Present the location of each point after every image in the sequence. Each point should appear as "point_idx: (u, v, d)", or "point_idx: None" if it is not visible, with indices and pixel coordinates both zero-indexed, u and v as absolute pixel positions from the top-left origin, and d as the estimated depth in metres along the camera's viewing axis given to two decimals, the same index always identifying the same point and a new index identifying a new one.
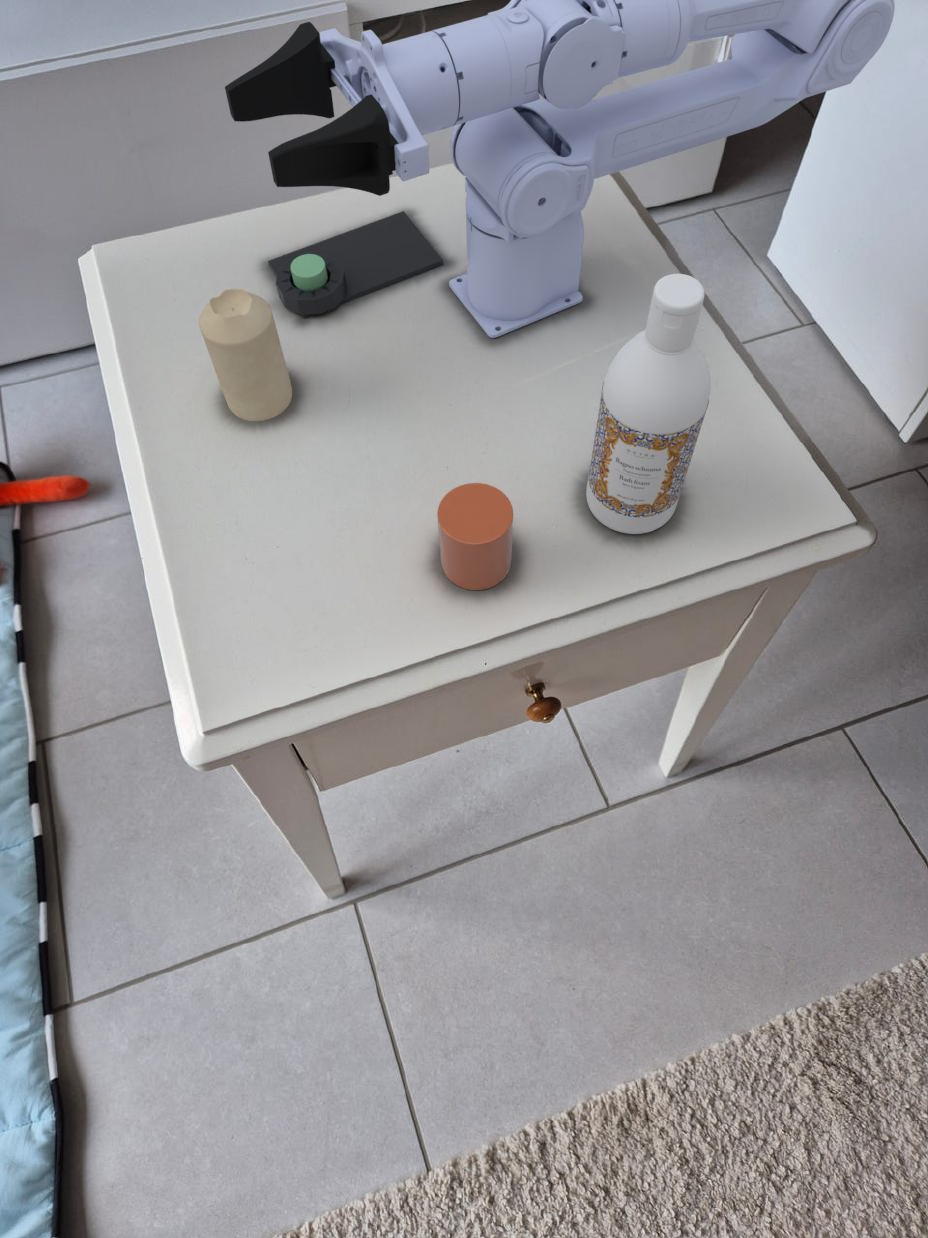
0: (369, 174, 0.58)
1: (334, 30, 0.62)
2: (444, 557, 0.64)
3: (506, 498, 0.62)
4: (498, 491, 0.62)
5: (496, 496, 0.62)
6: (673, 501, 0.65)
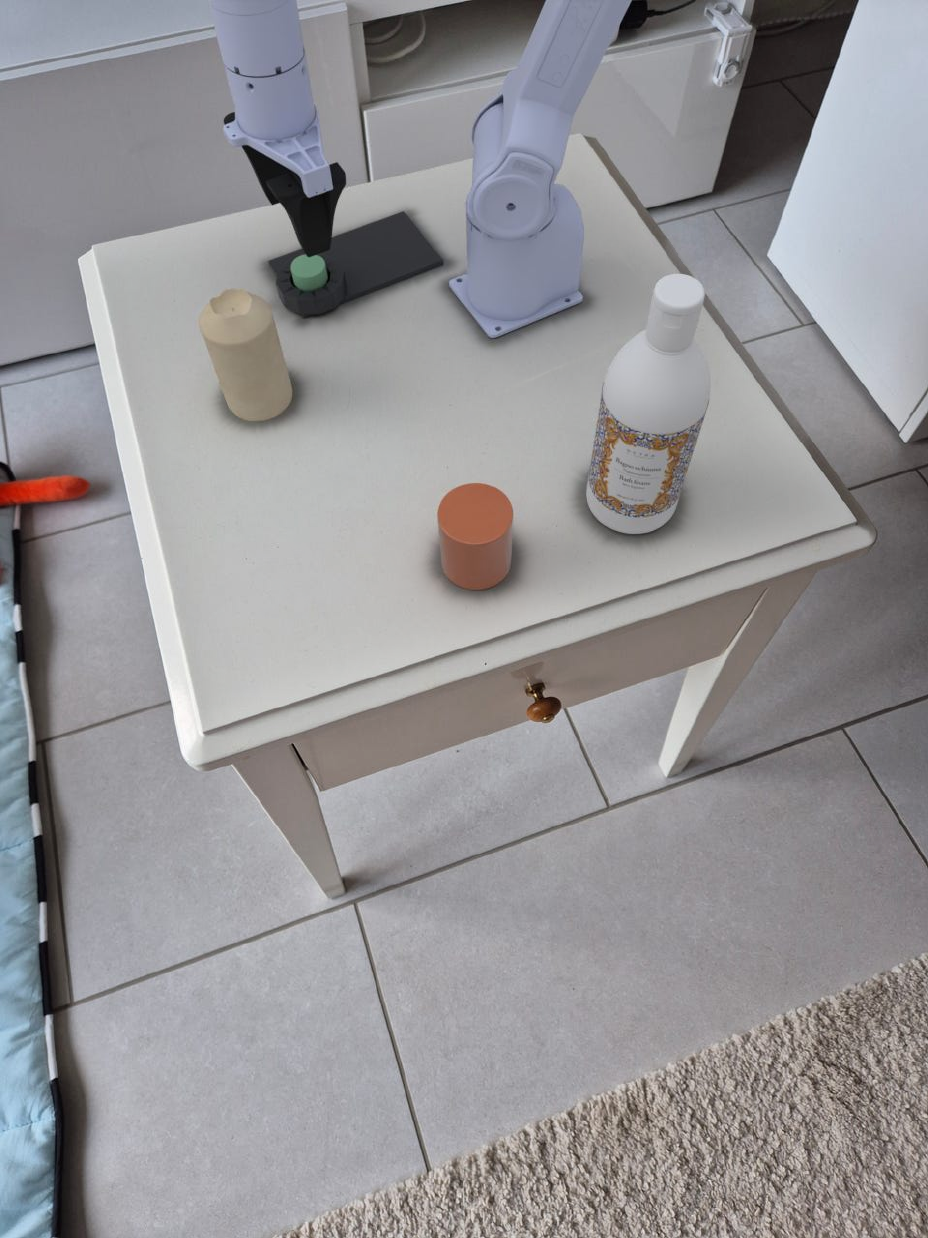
0: (327, 191, 0.67)
1: None
2: (444, 557, 0.64)
3: (506, 498, 0.62)
4: (498, 491, 0.62)
5: (496, 496, 0.62)
6: (673, 501, 0.65)
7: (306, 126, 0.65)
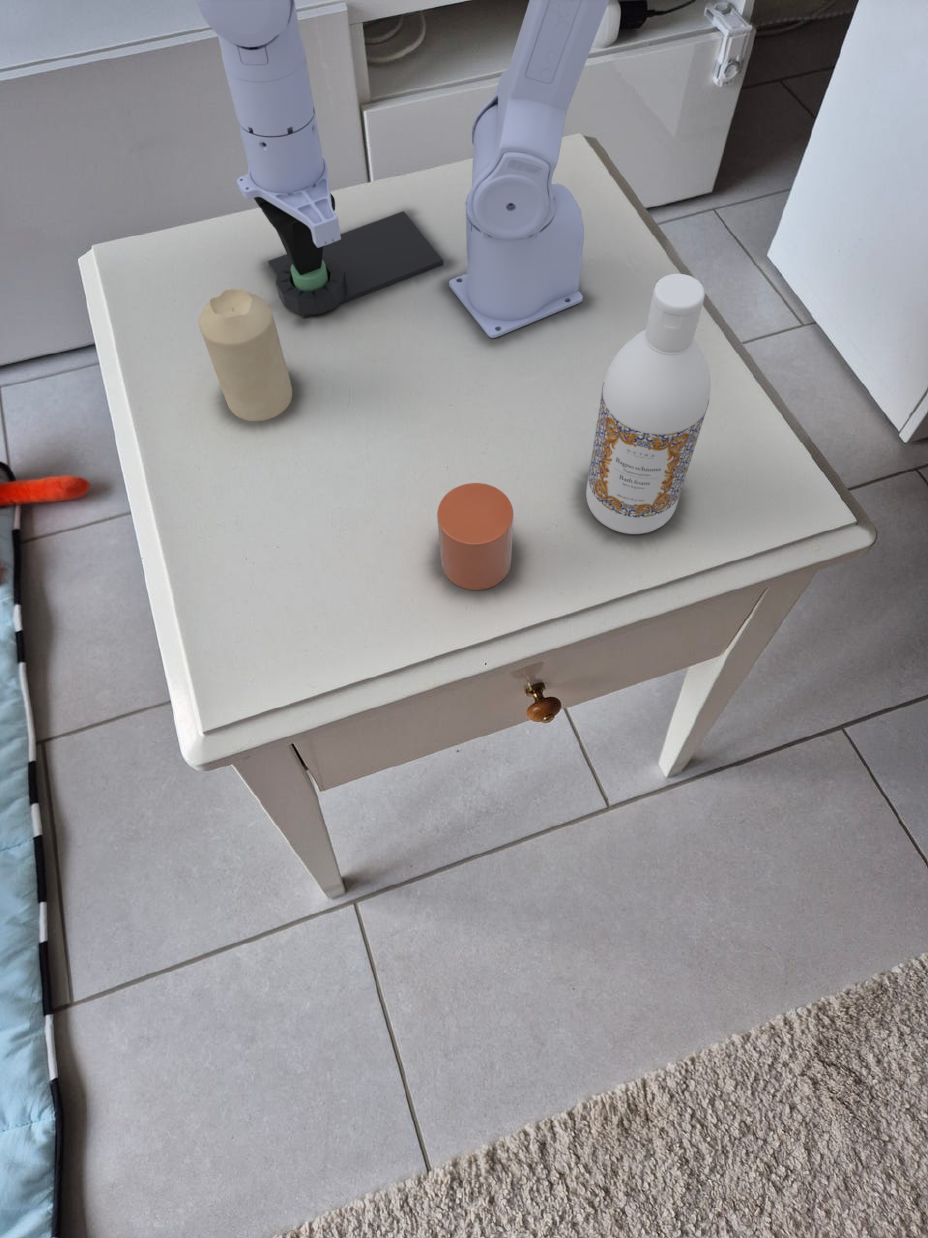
0: None
1: None
2: (444, 557, 0.64)
3: (506, 498, 0.62)
4: (498, 491, 0.62)
5: (496, 496, 0.62)
6: (673, 501, 0.65)
7: (315, 179, 0.69)
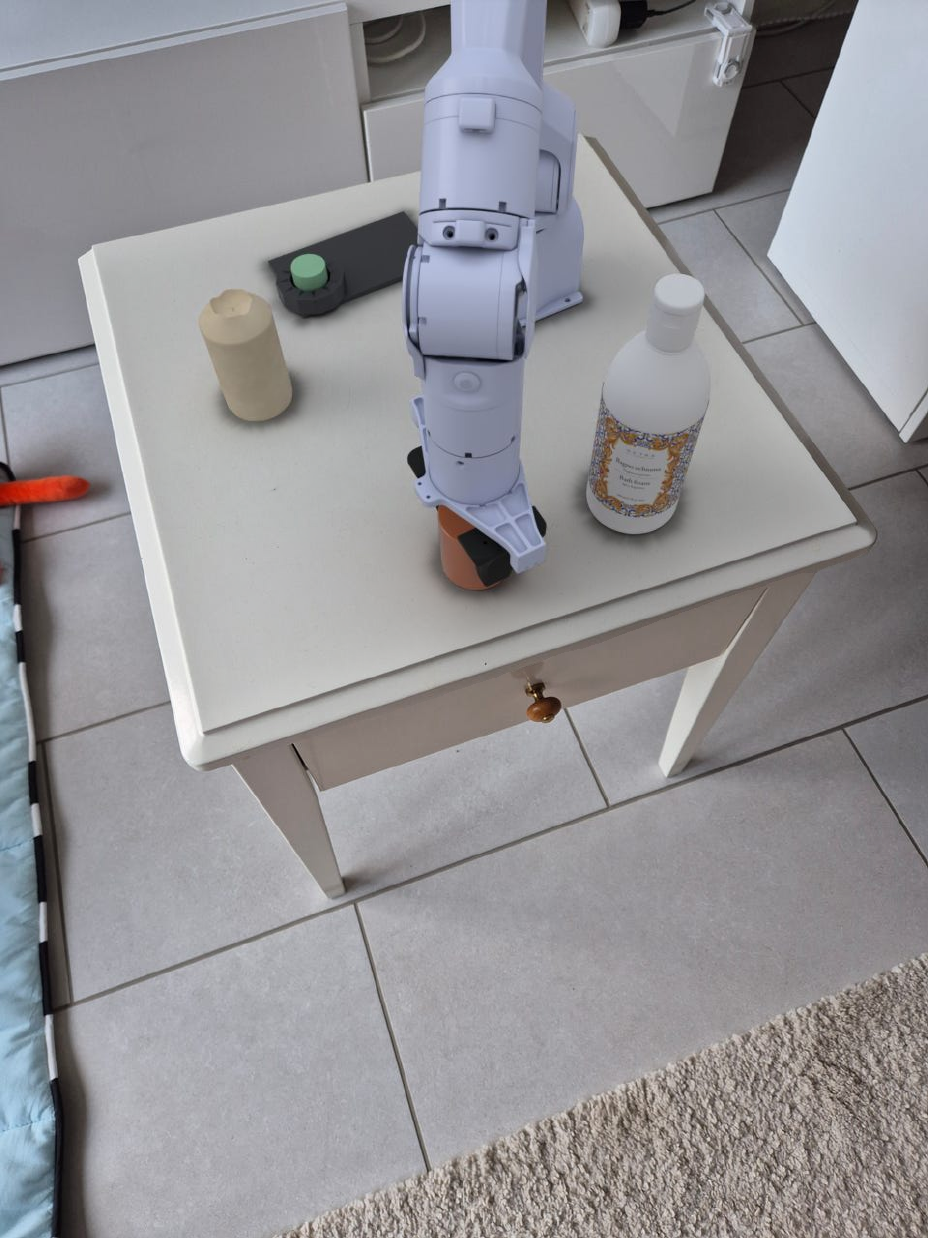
0: None
1: (411, 404, 0.60)
2: (444, 557, 0.64)
3: None
4: None
5: None
6: (673, 501, 0.65)
7: (512, 485, 0.56)
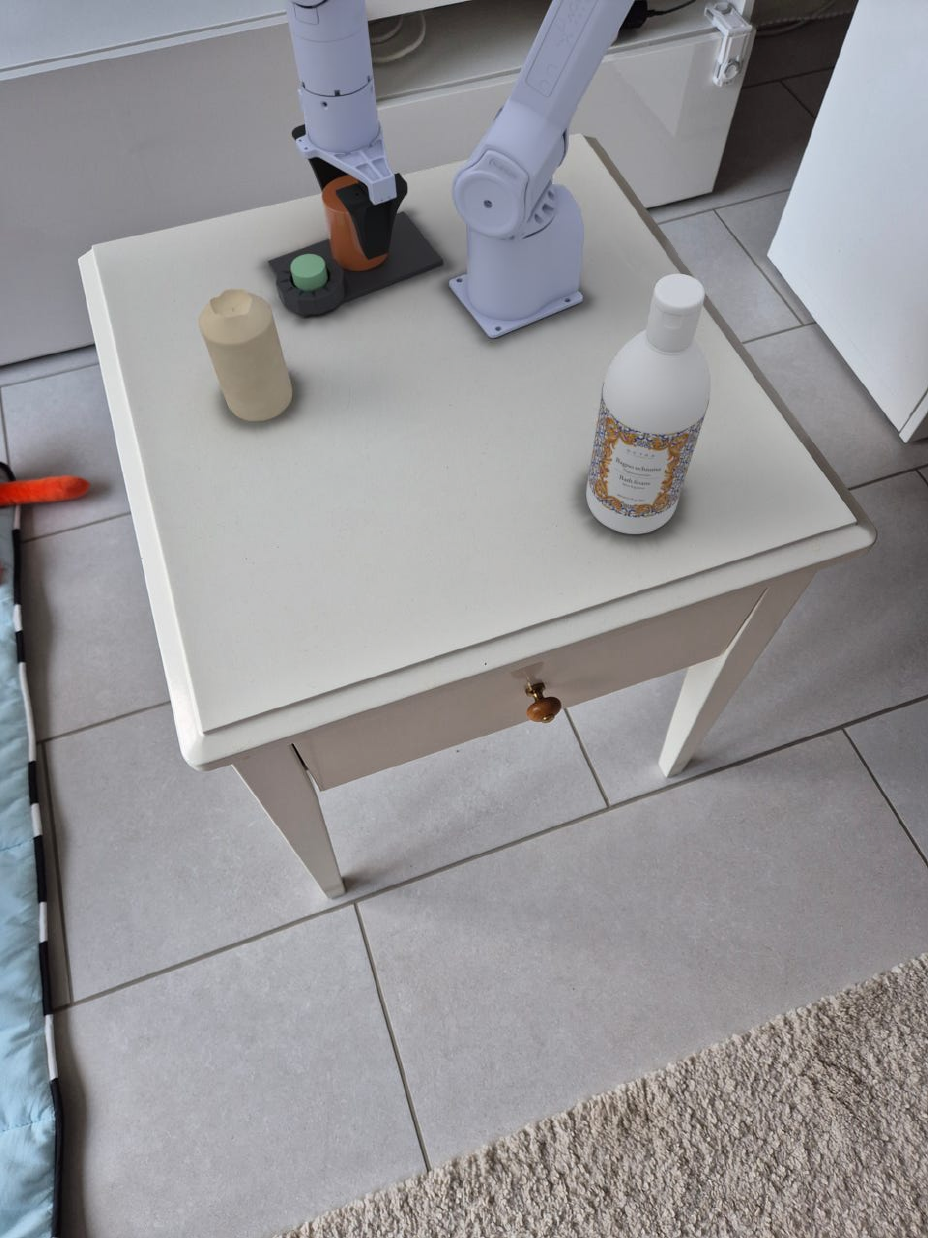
0: (390, 199, 0.73)
1: (299, 93, 0.76)
2: (330, 238, 0.80)
3: None
4: None
5: None
6: (673, 501, 0.65)
7: (372, 140, 0.72)
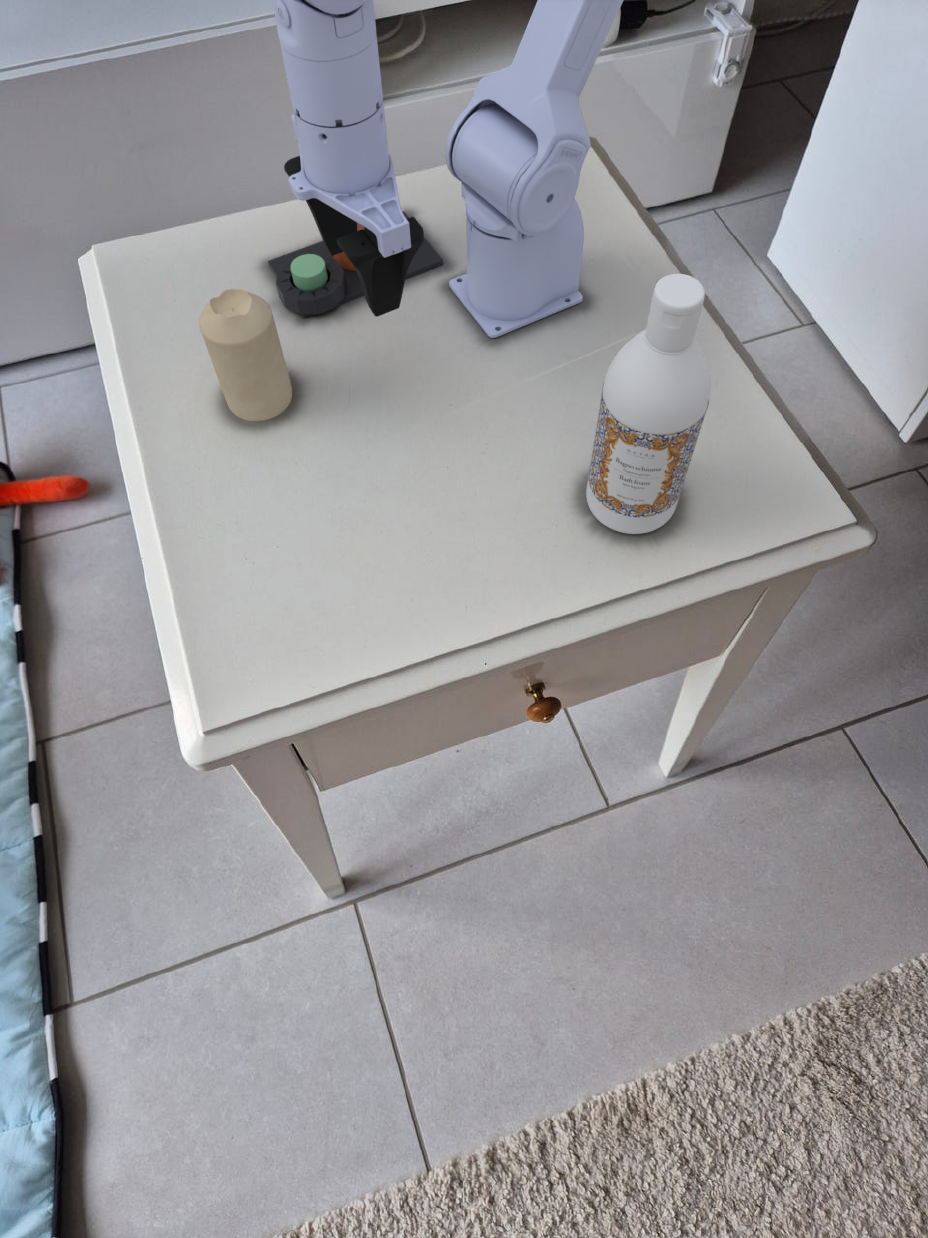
0: None
1: (293, 119, 0.63)
2: None
3: None
4: None
5: None
6: (673, 501, 0.65)
7: (381, 178, 0.59)
